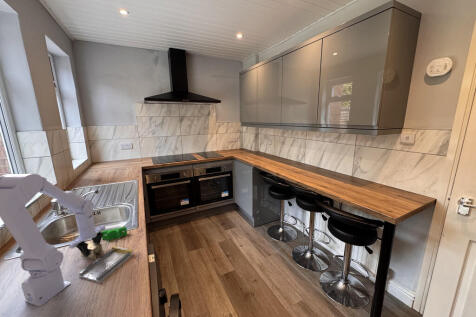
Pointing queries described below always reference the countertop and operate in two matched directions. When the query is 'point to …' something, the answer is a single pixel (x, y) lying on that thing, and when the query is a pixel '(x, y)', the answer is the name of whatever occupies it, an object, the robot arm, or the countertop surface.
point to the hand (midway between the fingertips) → (92, 252)
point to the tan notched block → (93, 250)
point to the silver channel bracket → (106, 264)
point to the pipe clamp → (114, 233)
